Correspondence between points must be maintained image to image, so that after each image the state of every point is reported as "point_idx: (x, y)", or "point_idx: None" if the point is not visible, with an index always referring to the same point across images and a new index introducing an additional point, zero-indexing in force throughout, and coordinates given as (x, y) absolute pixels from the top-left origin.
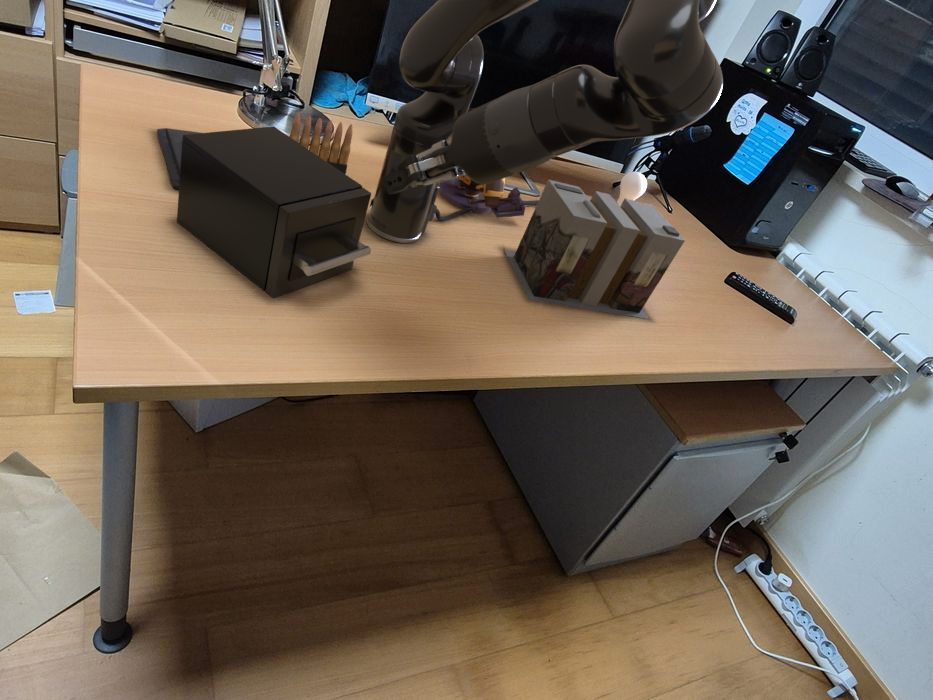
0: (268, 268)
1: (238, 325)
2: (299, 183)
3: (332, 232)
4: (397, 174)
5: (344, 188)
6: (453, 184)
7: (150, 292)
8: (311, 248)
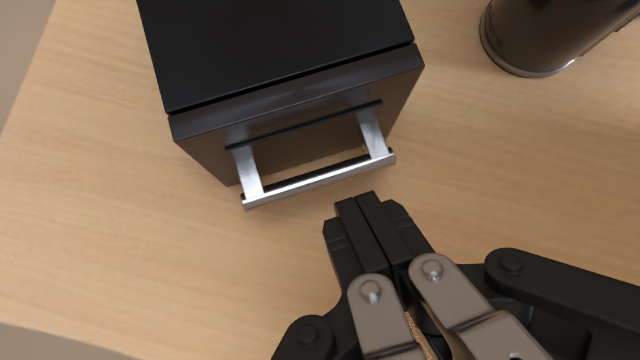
0: None
1: (152, 235)
2: (257, 31)
3: (319, 129)
4: (337, 274)
5: (359, 50)
6: None
7: (75, 145)
8: (274, 150)
